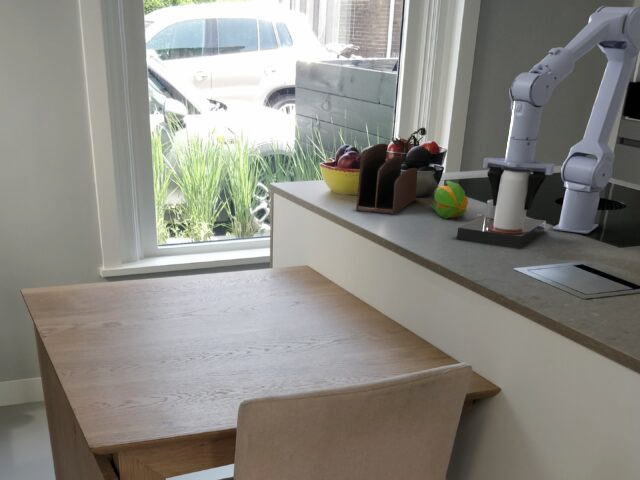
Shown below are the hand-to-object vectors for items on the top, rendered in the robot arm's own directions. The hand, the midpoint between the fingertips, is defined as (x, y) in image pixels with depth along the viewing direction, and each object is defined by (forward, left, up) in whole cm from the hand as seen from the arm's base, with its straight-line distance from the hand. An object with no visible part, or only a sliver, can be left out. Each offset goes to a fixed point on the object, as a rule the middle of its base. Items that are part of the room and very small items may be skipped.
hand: (511, 207), depth 178 cm
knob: (-10, -6, -5) cm, 12 cm away
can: (0, 0, -5) cm, 5 cm away
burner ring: (0, 0, -5) cm, 5 cm away
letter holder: (-18, -37, -7) cm, 42 cm away
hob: (-4, -2, -7) cm, 9 cm away
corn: (-18, -21, -7) cm, 29 cm away
